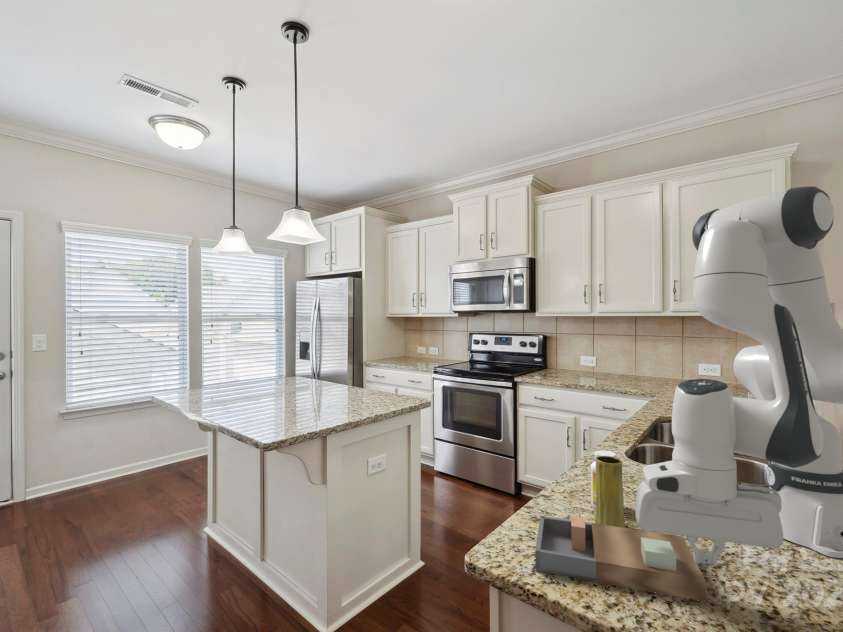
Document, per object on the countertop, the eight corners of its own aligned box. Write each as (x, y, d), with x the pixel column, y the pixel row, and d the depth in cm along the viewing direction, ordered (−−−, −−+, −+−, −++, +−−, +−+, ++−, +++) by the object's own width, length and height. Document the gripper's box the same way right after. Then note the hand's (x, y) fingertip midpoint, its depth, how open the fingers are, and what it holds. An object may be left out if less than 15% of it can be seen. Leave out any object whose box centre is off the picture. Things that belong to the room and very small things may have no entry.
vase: (612, 535, 86) (611, 466, 86) (588, 522, 91) (587, 457, 91) (631, 527, 88) (630, 461, 89) (607, 516, 94) (606, 453, 94)
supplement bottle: (625, 515, 94) (624, 458, 94) (594, 512, 96) (593, 457, 96) (617, 502, 101) (616, 449, 101) (588, 500, 102) (587, 448, 102)
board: (682, 554, 78) (682, 536, 78) (705, 602, 65) (705, 580, 65) (591, 540, 84) (591, 523, 84) (596, 581, 70) (595, 561, 70)
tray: (591, 540, 84) (591, 523, 84) (596, 581, 70) (595, 561, 70) (540, 532, 87) (540, 515, 87) (535, 570, 74) (535, 550, 74)
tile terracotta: (584, 517, 83) (571, 515, 84) (585, 528, 79) (571, 525, 80) (584, 539, 83) (571, 537, 84) (585, 551, 79) (571, 549, 80)
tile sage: (669, 556, 72) (669, 541, 72) (676, 571, 68) (676, 555, 68) (641, 551, 73) (640, 537, 73) (645, 565, 69) (645, 550, 69)
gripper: (771, 479, 68) (773, 564, 67) (633, 465, 75) (634, 542, 74) (791, 495, 62) (792, 587, 62) (638, 478, 69) (639, 562, 68)
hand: (704, 563), depth 68 cm, fingers closed
